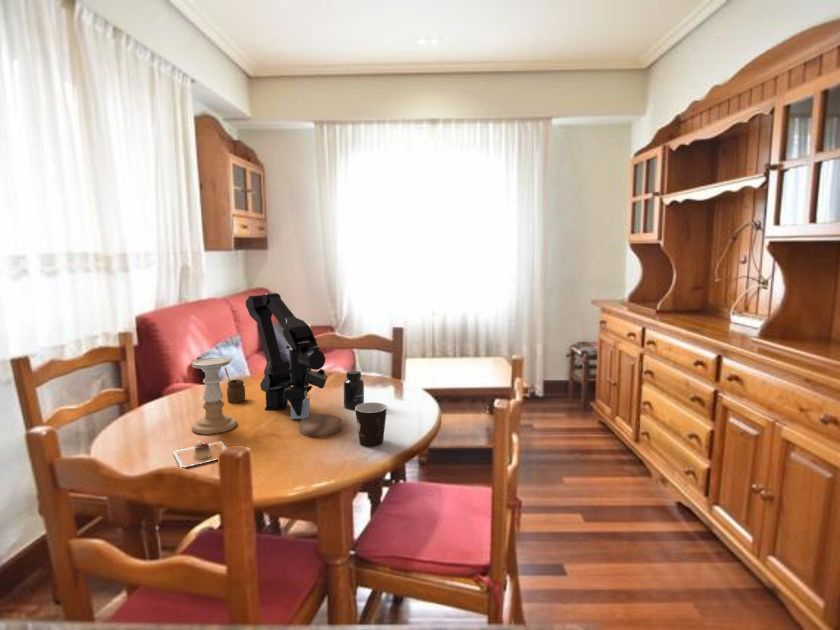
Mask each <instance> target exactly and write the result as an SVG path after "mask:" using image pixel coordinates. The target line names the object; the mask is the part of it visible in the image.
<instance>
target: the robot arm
mask: <svg viewBox="0 0 840 630" xmlns="http://www.w3.org/2000/svg"><path fill="white" fill-rule="evenodd" d="M245 307H246V309H247V311H248V314H249V317H251V318H252V320H254V321H255V322H256V325H257V330H258V333H259V337H260V342H261V345H262V349H263V352H264V356H265V359H266V364H265V368H264V370H263V373H264V377H263V379H262V381H261V382H260V384H259V385H260V390H261V391H262V392H265V408H264V410H265V411H266V410H276V411H277V410H285V409H286V408H287V407H288V405H289V404H290V406H291V405H292V407H293V409H294V411H295V413H296V415H297V416H301V411H302V404H303V400H304V399H305V398H308V395H309V394H308V393H309V392H310V391H311V390H312V388H313V386H314V387H317V388H319V389H324V388H325V385H326V382H327V380H328V375H327V374H326V371H325V369H322V368H323V367H324V366H325V363H326V356H325V354H324V352H322V351H320V346H318V342H317V338H316V337H315V335H314V333H313V331H312V328H311V327H310V325H309V324H307V323H306V321H304V320H302V319H300V318H298V317H296V316H295V315H294V314H293V312H292V311H291V309H289V307H288V305H286V304H285V301H283V300H282V299H281V295H280V294H279V293H278V292H270V293H264V294H257V295H249V296H248V298H247V299H246V300H245ZM272 316H274V317H275V319H276V320H277V321H278V322H279V324H280V326H281V327H282V335H283V337H284V339H285V341H286V342H287V345H286V346H285V348H286V349H287V350H289V351H288V354H289V355H288V356H289V357H288V359H289V361H288V360H287V361H285V359H283V358H282V355H281V351H280V348H279V342H278V340H277V339H278V338H277V336H276V331H275V328H274V324H273V321H272ZM313 370H314V371H313Z"/></svg>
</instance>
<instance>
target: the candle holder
mask: <svg viewBox="0 0 840 630" xmlns="http://www.w3.org/2000/svg"><path fill="white" fill-rule="evenodd" d="M230 364H231V358H228V357H219V356H218V357H216V356H215V357H207V358H206V357H205V358H199V359H196V360H194V361H192V362H191V367H192V368H195V369H201V370H202V372H204V374H205V377H204V378H203V380H202V383H203V384H205V386H204V392H203V395H202V399H203V401H205V402H204V404H203V405H202V408H203V409H204V410H205V415H204V416H203V417H200V418H199V419H198V420H196V421H194V423H192V425H191V430H192V432H193V431H194V432H193V433H195V432H196V433H195V434H198V433H201V434H200V435H214V434H213V433H216V434H220V433H219V432H221V433H225V432H228V431H231V430H233V429H234V428H235V427H236V426H237V423H238V422H237V419H236V418H235V417H233V416H230V415H229V414H226V413H225V414H224V413H223V407H224V405H225V402H224V401H222V400H223V398H224V393H223V391H222V388H221V384H220V383H221V381H222V378H221V377H220V376H219V372H220V370H221V369H222V368H223V367H225V366H228V365H230Z"/></svg>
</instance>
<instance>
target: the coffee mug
mask: <svg viewBox="0 0 840 630" xmlns="http://www.w3.org/2000/svg"><path fill="white" fill-rule="evenodd" d="M387 409H388V406H387V405H386V404H385V403H381V402H373V401H372V402H364V403H363V404H359V405H357V406H356V407H355V409H354V410H355V412H354V413H355V418H356V427H357V432H358V440H359V445H360V446H362V447H363V448H378V447H379V446H382V445H383V444H384V436H385V428H386V427H385V426H386V420H387V419H386V418H387V411H388V410H387Z"/></svg>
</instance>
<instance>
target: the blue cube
mask: <svg viewBox="0 0 840 630" xmlns="http://www.w3.org/2000/svg"><path fill="white" fill-rule="evenodd" d="M310 399H311V398H309V397H306V398H305V399H304V400H303V404H302V411H301V416H297V415H296V413H295V411H294V409H293V407H292V405H291V404H290V419H291V420H303V419H305V418H307V417H310V414H311V404H310V403H311V402H310Z"/></svg>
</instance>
